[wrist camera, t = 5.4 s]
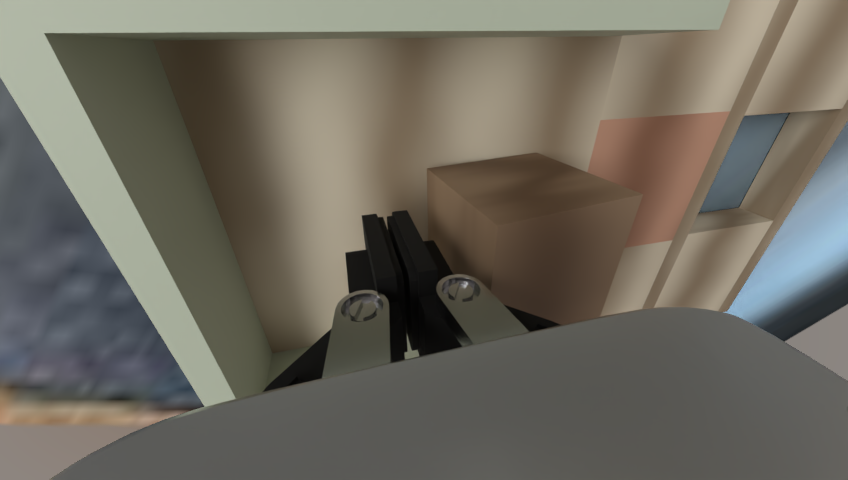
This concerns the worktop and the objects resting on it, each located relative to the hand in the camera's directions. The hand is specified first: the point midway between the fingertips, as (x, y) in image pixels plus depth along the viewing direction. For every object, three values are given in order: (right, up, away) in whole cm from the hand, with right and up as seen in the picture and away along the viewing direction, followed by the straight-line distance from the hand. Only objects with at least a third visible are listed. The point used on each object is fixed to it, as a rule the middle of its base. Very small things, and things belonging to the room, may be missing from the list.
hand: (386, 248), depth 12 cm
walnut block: (+4, +1, +2) cm, 5 cm away
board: (+8, +3, +5) cm, 10 cm away
